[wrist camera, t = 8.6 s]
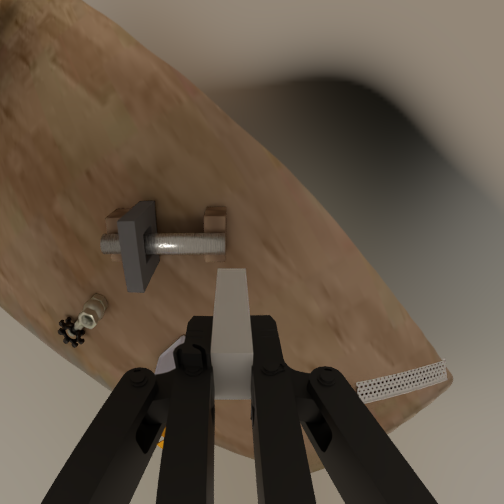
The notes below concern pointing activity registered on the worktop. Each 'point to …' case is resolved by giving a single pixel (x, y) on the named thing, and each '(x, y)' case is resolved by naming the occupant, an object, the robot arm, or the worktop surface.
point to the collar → (137, 245)
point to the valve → (84, 320)
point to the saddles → (212, 224)
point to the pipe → (171, 243)
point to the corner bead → (404, 390)
